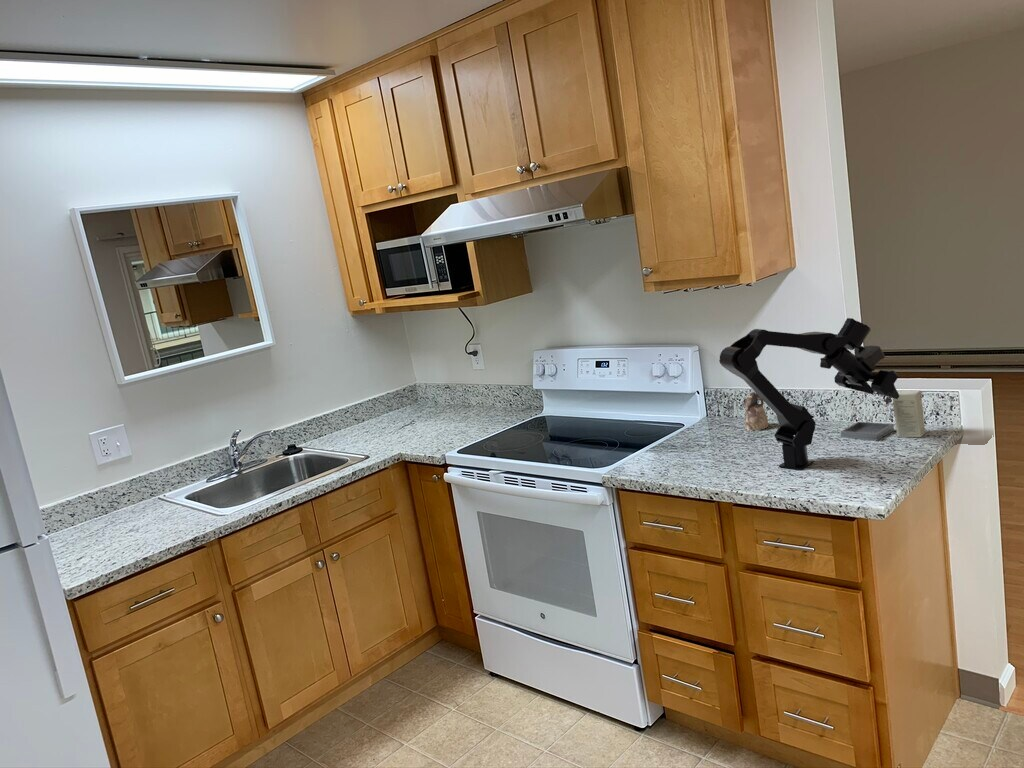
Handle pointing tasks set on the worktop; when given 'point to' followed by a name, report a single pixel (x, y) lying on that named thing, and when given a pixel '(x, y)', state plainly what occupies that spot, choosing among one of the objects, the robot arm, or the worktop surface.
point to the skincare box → (909, 414)
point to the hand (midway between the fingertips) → (885, 395)
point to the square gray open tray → (867, 430)
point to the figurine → (755, 413)
